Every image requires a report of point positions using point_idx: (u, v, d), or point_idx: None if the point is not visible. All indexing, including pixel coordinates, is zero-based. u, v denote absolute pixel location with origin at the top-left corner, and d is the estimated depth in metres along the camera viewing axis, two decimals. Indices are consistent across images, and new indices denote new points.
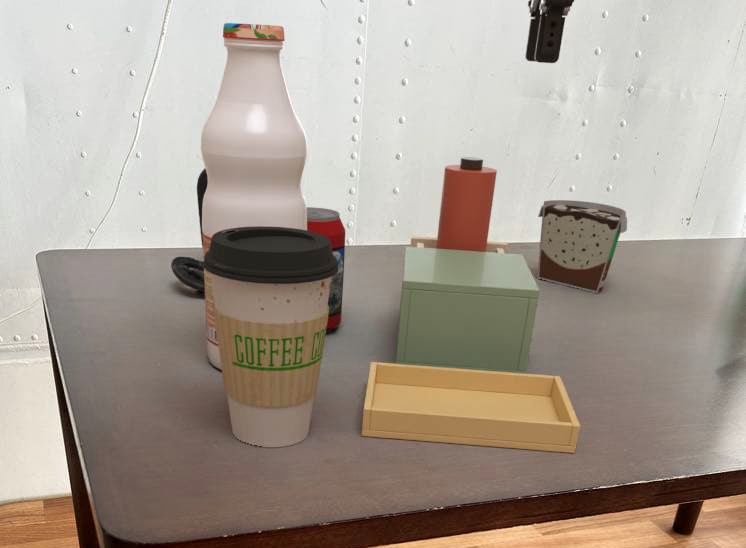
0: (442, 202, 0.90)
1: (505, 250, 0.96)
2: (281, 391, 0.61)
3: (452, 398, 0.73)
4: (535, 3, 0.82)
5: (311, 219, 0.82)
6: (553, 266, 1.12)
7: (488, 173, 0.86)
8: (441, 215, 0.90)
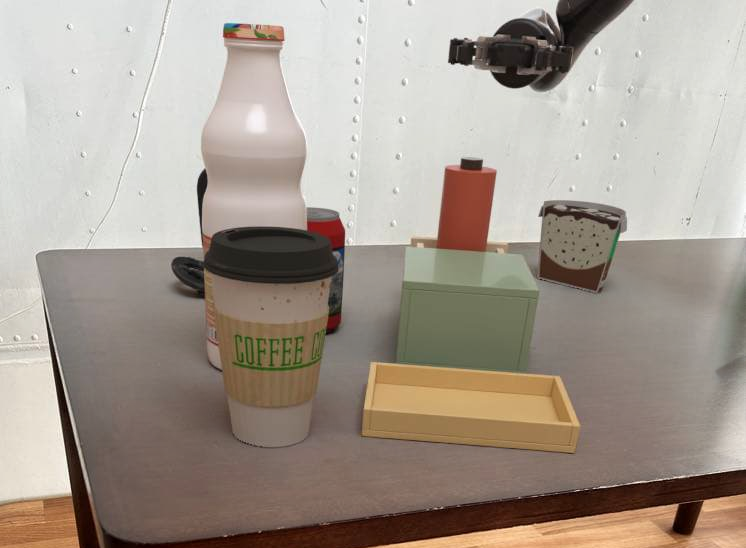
0: (442, 202, 0.90)
1: (505, 250, 0.96)
2: (281, 391, 0.61)
3: (452, 398, 0.73)
4: None
5: (311, 219, 0.82)
6: (553, 266, 1.12)
7: (488, 173, 0.86)
8: (441, 215, 0.90)
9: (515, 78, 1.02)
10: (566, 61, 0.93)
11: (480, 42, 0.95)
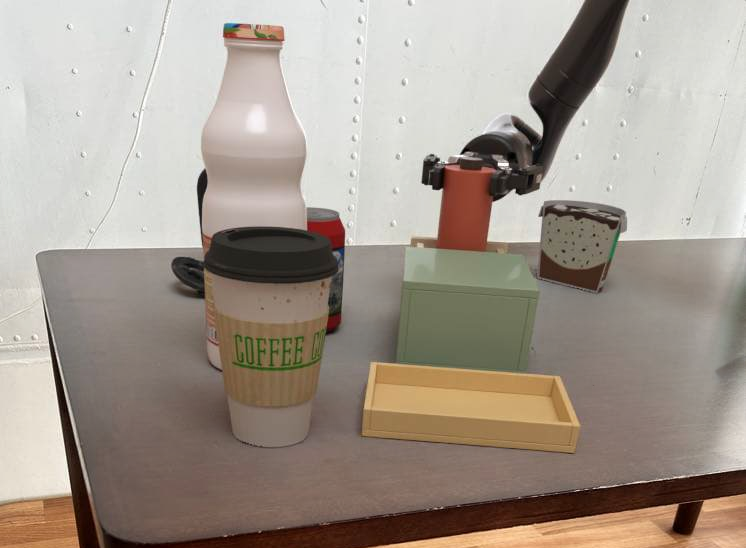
0: (442, 202, 0.90)
1: (505, 250, 0.96)
2: (281, 391, 0.61)
3: (452, 398, 0.73)
4: None
5: (311, 219, 0.82)
6: (553, 266, 1.12)
7: (488, 173, 0.86)
8: (441, 215, 0.90)
9: None
10: (522, 184, 0.89)
11: (453, 163, 0.91)
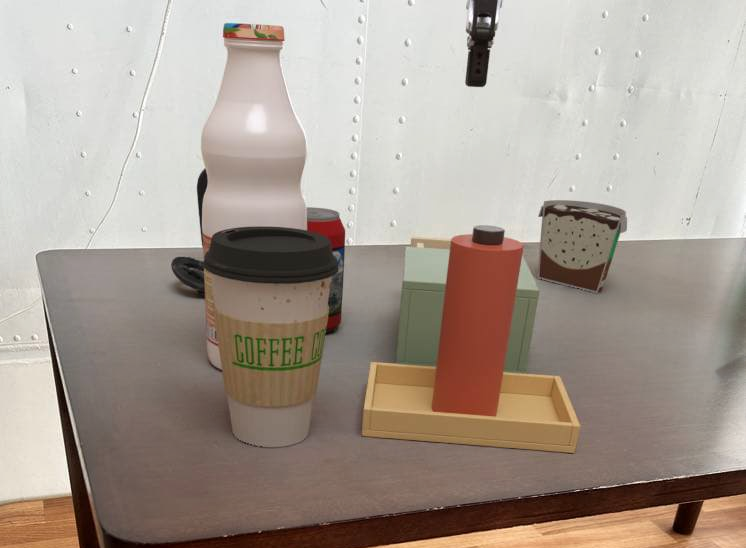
0: (447, 287, 0.64)
1: None
2: (281, 391, 0.61)
3: None
4: None
5: (311, 219, 0.82)
6: (553, 266, 1.12)
7: (512, 250, 0.61)
8: (446, 304, 0.65)
9: None
10: None
11: None
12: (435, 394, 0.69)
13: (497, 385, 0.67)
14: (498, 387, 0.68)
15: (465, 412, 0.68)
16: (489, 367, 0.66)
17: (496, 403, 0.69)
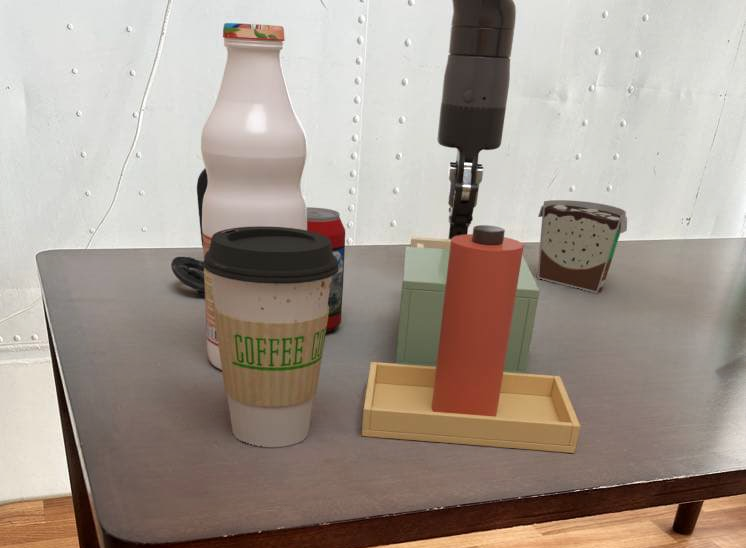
0: (447, 287, 0.64)
1: None
2: (281, 391, 0.61)
3: None
4: None
5: (311, 219, 0.82)
6: (553, 266, 1.12)
7: (512, 250, 0.61)
8: (446, 304, 0.65)
9: None
10: None
11: None
12: (435, 394, 0.69)
13: (497, 385, 0.67)
14: (498, 387, 0.68)
15: (465, 412, 0.68)
16: (489, 367, 0.66)
17: (496, 403, 0.69)
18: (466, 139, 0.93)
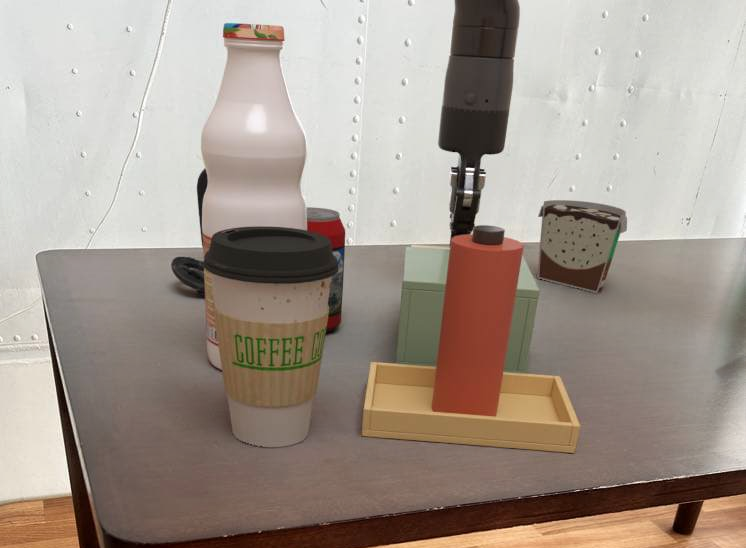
0: (447, 287, 0.64)
1: None
2: (281, 391, 0.61)
3: None
4: None
5: (311, 219, 0.82)
6: (553, 266, 1.12)
7: (512, 250, 0.61)
8: (446, 304, 0.65)
9: None
10: None
11: None
12: (435, 394, 0.69)
13: (497, 385, 0.67)
14: (498, 387, 0.68)
15: (465, 412, 0.68)
16: (489, 367, 0.66)
17: (496, 403, 0.69)
18: (468, 143, 0.89)
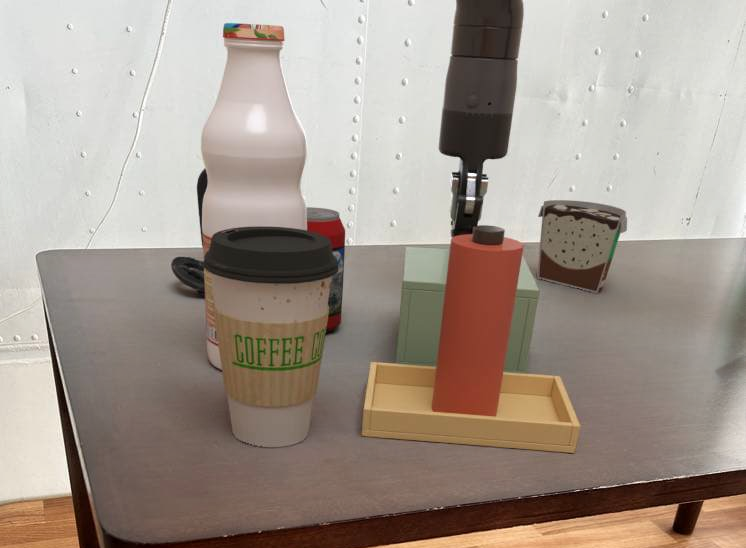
0: (447, 287, 0.64)
1: None
2: (281, 391, 0.61)
3: None
4: None
5: (311, 219, 0.82)
6: (553, 266, 1.12)
7: (512, 250, 0.61)
8: (446, 304, 0.65)
9: None
10: None
11: None
12: (435, 394, 0.69)
13: (497, 385, 0.67)
14: (498, 387, 0.68)
15: (465, 412, 0.68)
16: (489, 367, 0.66)
17: (496, 403, 0.69)
18: (470, 148, 0.86)
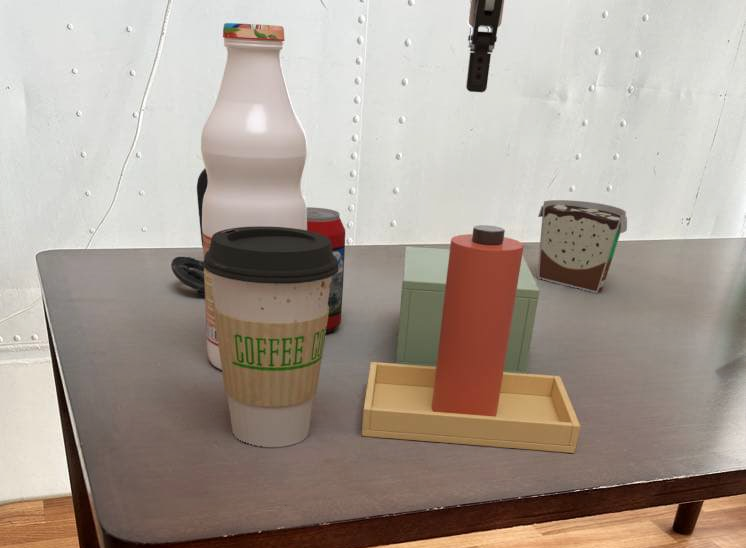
0: (447, 287, 0.64)
1: None
2: (281, 391, 0.61)
3: None
4: None
5: (311, 219, 0.82)
6: (553, 266, 1.12)
7: (512, 250, 0.61)
8: (446, 304, 0.65)
9: None
10: None
11: None
12: (435, 394, 0.69)
13: (497, 385, 0.67)
14: (498, 387, 0.68)
15: (465, 412, 0.68)
16: (489, 367, 0.66)
17: (496, 403, 0.69)
18: None
